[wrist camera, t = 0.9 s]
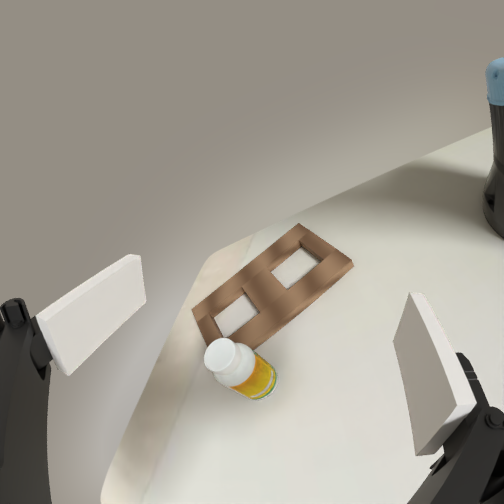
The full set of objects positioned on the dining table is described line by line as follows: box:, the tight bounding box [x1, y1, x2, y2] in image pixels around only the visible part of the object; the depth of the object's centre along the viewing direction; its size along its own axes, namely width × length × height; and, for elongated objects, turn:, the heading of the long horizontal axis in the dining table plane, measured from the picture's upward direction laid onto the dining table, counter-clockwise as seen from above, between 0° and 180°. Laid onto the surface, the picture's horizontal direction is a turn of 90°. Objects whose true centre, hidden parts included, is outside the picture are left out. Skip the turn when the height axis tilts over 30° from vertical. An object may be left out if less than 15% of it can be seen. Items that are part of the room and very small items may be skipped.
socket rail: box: [192, 223, 354, 350], centre depth 43 cm, size 24×14×2 cm, turn 117°
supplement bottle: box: [204, 338, 278, 400], centre depth 31 cm, size 5×5×10 cm
